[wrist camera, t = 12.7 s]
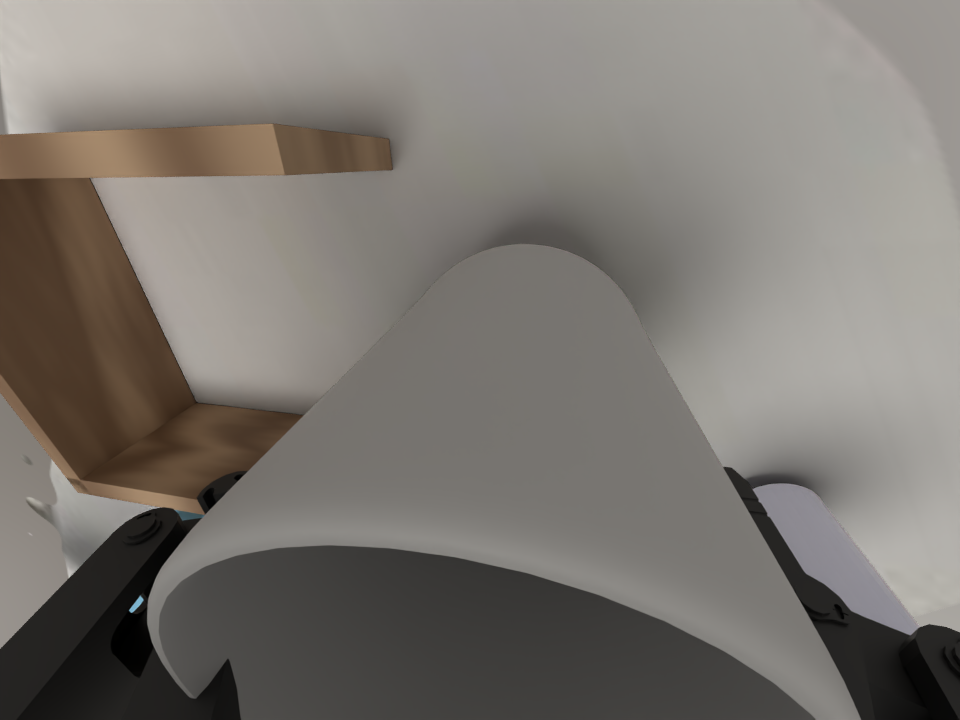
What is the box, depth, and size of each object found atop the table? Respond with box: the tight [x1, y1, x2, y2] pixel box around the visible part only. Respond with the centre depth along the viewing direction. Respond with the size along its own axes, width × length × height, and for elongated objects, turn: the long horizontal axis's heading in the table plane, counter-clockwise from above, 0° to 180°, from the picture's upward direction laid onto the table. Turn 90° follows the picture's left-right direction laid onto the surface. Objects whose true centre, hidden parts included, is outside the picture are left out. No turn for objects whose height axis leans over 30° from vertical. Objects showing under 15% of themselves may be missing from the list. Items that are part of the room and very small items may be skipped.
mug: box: [147, 244, 861, 720], centre depth 10 cm, size 12×8×11 cm
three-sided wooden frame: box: [0, 124, 392, 515], centre depth 18 cm, size 18×17×8 cm
